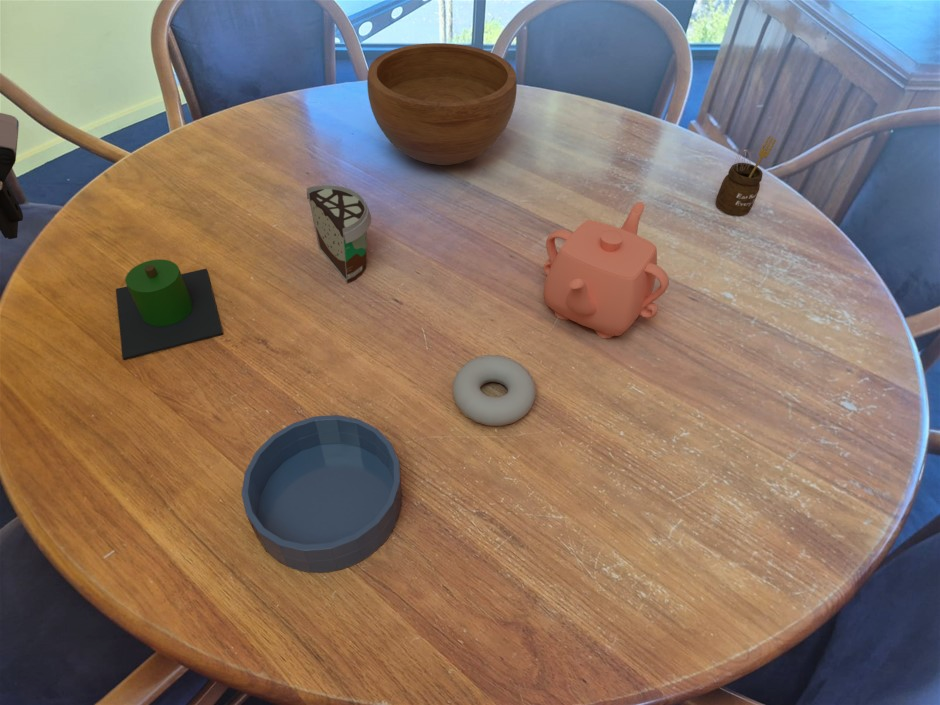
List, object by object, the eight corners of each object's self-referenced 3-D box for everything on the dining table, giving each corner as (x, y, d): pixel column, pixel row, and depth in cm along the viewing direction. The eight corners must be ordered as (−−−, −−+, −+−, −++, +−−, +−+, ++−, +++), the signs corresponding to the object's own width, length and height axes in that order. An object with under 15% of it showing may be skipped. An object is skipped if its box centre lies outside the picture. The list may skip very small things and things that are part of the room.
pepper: (144, 331, 80) (123, 289, 75) (139, 300, 84) (119, 258, 79) (195, 318, 82) (179, 277, 77) (189, 289, 86) (173, 247, 80)
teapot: (556, 357, 80) (572, 282, 71) (527, 274, 91) (537, 201, 82) (665, 346, 82) (694, 272, 73) (624, 267, 93) (644, 194, 84)
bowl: (409, 207, 102) (406, 119, 91) (352, 138, 116) (343, 56, 105) (536, 172, 111) (547, 89, 100) (468, 113, 125) (471, 34, 114)
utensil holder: (706, 202, 106) (731, 137, 97) (732, 193, 109) (759, 129, 100) (732, 220, 103) (759, 155, 94) (758, 211, 105) (788, 145, 96)
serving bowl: (271, 598, 58) (259, 575, 54) (241, 468, 67) (229, 442, 63) (423, 538, 62) (422, 514, 59) (375, 425, 72) (372, 398, 68)
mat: (123, 360, 77) (122, 358, 77) (116, 290, 86) (115, 288, 85) (223, 334, 81) (222, 332, 80) (207, 270, 89) (206, 268, 89)
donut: (545, 385, 77) (473, 356, 80) (550, 367, 75) (475, 338, 77) (514, 445, 71) (437, 411, 73) (517, 427, 68) (437, 393, 71)
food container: (390, 274, 90) (386, 216, 83) (352, 289, 88) (344, 231, 80) (351, 231, 97) (344, 174, 90) (315, 243, 94) (305, 186, 87)
